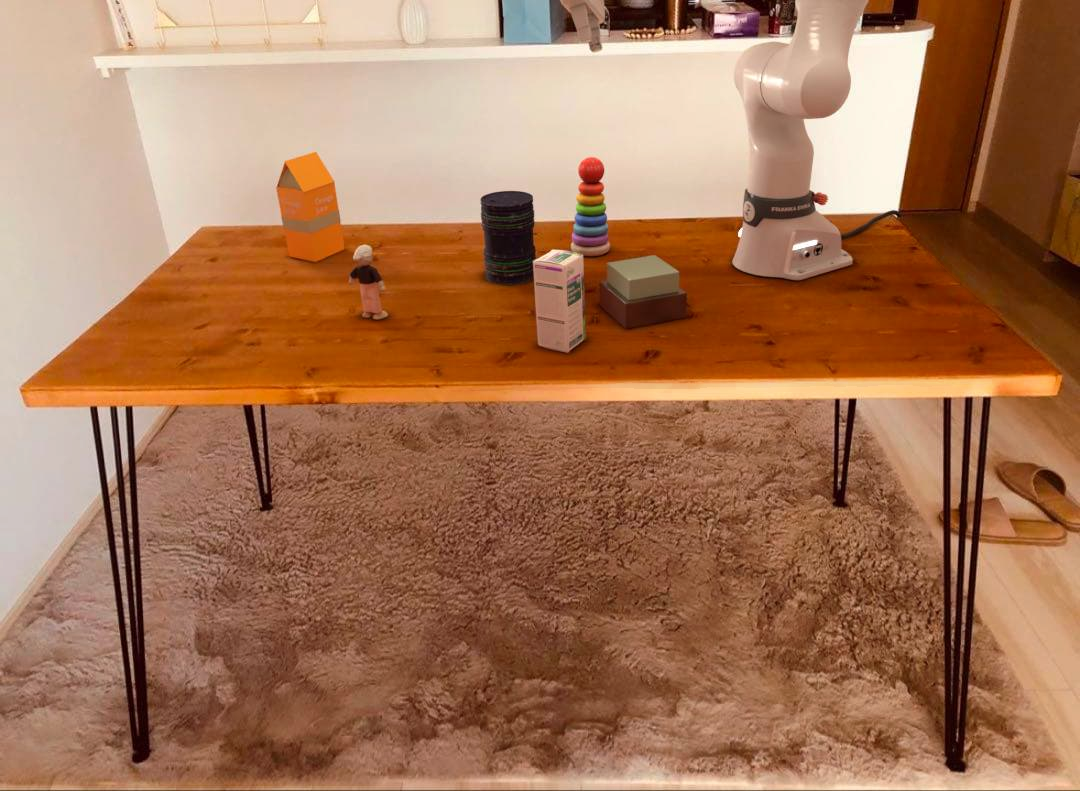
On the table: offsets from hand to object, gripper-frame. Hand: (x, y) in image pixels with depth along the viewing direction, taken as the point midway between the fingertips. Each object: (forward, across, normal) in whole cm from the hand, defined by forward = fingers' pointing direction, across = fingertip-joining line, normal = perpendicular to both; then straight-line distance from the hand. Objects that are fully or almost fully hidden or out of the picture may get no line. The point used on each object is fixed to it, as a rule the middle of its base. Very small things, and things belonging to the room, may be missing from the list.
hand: (591, 46), depth 128 cm
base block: (+42, +9, +2) cm, 43 cm away
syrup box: (+43, -4, +14) cm, 45 cm away
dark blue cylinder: (+32, +23, +27) cm, 47 cm away
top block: (+38, +8, +1) cm, 39 cm away
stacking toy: (+31, +37, +14) cm, 50 cm away
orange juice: (+19, +30, +69) cm, 77 cm away
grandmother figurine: (+32, +2, +47) cm, 57 cm away
